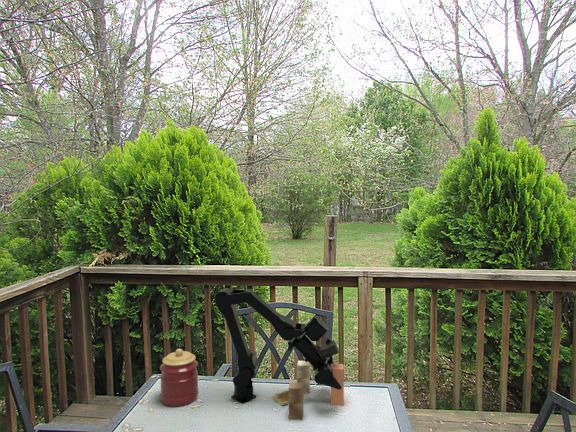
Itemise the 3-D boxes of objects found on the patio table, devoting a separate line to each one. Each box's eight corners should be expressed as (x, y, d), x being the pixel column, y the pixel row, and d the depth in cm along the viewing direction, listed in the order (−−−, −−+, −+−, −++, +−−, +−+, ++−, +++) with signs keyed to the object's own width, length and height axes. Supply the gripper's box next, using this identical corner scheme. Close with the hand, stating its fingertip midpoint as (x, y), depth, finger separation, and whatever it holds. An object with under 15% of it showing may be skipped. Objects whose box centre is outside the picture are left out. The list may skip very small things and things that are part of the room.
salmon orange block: (330, 405, 133) (330, 368, 133) (330, 398, 137) (330, 363, 137) (343, 405, 132) (343, 369, 132) (343, 399, 137) (343, 364, 136)
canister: (192, 407, 132) (192, 356, 131) (154, 407, 132) (154, 355, 132) (202, 389, 145) (201, 342, 144) (167, 389, 145) (167, 342, 145)
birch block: (297, 392, 142) (297, 365, 142) (298, 387, 146) (298, 360, 146) (309, 393, 142) (309, 365, 141) (309, 387, 146) (309, 361, 146)
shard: (296, 391, 144) (296, 386, 144) (309, 399, 138) (309, 394, 138) (271, 400, 138) (271, 395, 137) (284, 409, 131) (284, 403, 131)
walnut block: (288, 419, 124) (288, 388, 124) (290, 412, 129) (290, 382, 128) (302, 420, 124) (302, 388, 123) (303, 412, 128) (303, 382, 128)
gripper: (324, 343, 126) (359, 378, 125) (325, 325, 144) (355, 356, 143) (300, 366, 127) (334, 402, 126) (304, 346, 145) (334, 377, 144)
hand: (340, 382), depth 135 cm, fingers open, 9 cm apart
